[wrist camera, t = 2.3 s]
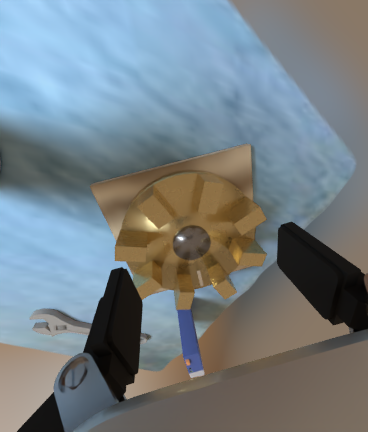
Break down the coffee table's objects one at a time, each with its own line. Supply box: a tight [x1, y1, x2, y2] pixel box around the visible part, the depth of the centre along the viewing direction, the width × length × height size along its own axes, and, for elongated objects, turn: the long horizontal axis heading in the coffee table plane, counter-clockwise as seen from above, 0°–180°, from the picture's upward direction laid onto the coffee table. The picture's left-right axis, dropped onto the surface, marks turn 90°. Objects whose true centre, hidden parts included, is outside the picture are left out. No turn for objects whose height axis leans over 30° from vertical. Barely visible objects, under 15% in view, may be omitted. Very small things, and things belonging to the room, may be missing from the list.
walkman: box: [177, 308, 204, 378], centre depth 38 cm, size 8×3×12 cm, turn 10°
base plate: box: [90, 144, 255, 295], centre depth 33 cm, size 24×24×2 cm
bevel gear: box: [115, 170, 267, 310], centre depth 29 cm, size 22×22×6 cm
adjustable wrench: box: [30, 309, 147, 344], centre depth 41 cm, size 25×6×2 cm, turn 54°
